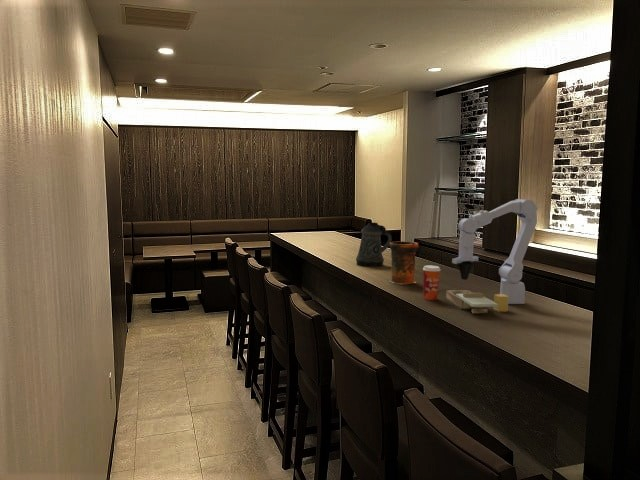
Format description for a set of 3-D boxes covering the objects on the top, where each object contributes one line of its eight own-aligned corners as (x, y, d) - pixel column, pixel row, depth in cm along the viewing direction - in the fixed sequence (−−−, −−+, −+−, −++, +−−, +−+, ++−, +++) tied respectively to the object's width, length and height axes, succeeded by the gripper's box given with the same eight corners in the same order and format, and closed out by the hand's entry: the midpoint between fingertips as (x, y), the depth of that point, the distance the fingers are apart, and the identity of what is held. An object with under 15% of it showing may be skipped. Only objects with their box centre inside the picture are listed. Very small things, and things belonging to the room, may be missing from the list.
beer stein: (351, 263, 318) (352, 221, 315) (378, 261, 326) (380, 221, 323) (364, 267, 303) (366, 224, 300) (393, 265, 311) (394, 223, 308)
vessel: (404, 286, 253) (405, 244, 251) (382, 281, 264) (383, 242, 262) (423, 282, 262) (424, 242, 261) (401, 278, 273) (402, 240, 271)
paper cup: (426, 301, 224) (427, 268, 222) (418, 296, 231) (419, 265, 230) (442, 300, 226) (444, 268, 224) (434, 296, 233) (435, 265, 232)
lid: (479, 295, 219) (479, 289, 219) (497, 306, 201) (498, 299, 201) (455, 296, 218) (456, 289, 217) (472, 306, 200) (472, 300, 200)
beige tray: (468, 298, 230) (468, 290, 230) (492, 313, 206) (492, 304, 206) (446, 298, 229) (446, 290, 229) (467, 313, 205) (467, 304, 205)
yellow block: (503, 308, 213) (503, 294, 213) (507, 311, 209) (508, 296, 209) (493, 308, 213) (494, 294, 212) (497, 311, 209) (498, 296, 208)
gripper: (462, 249, 213) (460, 282, 214) (485, 247, 221) (483, 279, 223) (448, 247, 218) (447, 279, 220) (471, 245, 227) (469, 276, 228)
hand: (464, 279), depth 222 cm, fingers closed
